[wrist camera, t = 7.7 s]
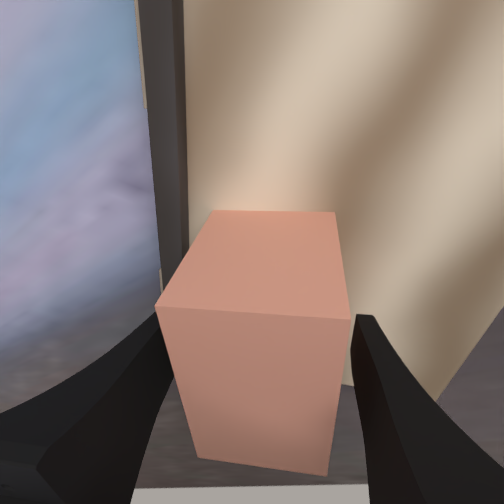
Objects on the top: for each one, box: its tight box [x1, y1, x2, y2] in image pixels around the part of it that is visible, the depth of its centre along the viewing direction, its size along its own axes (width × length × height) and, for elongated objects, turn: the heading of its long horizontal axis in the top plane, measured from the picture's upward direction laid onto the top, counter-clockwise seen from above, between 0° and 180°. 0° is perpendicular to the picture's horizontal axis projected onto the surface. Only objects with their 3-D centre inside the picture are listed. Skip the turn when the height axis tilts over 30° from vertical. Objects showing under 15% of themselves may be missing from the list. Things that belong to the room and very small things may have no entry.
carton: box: [155, 210, 351, 477], centre depth 13 cm, size 5×8×6 cm, turn 3°
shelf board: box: [134, 0, 504, 402], centre depth 13 cm, size 15×20×2 cm
